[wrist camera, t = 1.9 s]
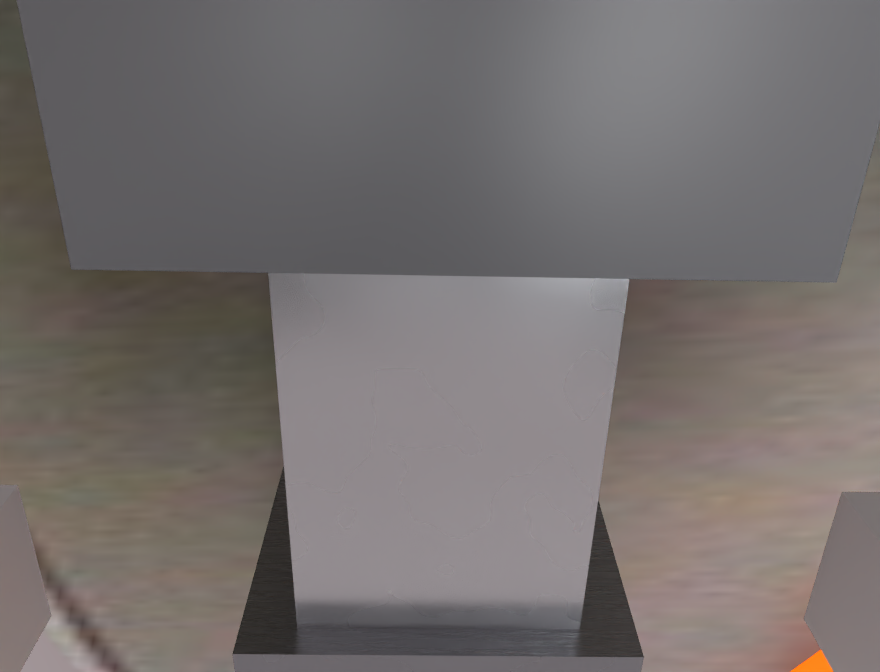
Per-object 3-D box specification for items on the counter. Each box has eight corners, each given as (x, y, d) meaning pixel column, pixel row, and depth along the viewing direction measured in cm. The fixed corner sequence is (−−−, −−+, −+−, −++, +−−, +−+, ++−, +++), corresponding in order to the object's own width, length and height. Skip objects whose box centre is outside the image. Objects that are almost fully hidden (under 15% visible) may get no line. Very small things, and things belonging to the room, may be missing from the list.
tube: (218, -569, 12) (-3, -1082, 6) (701, -552, 12) (975, -1033, 6) (308, 657, 23) (266, 909, 17) (552, 659, 23) (594, 910, 17)
